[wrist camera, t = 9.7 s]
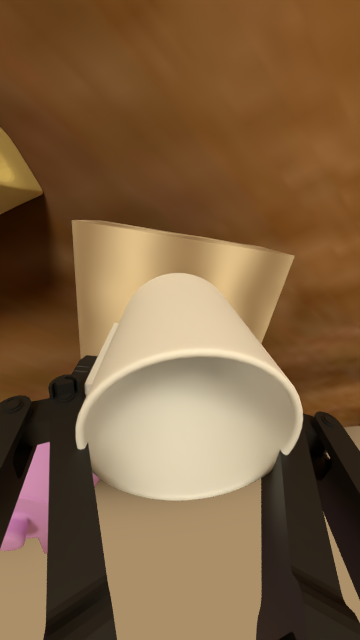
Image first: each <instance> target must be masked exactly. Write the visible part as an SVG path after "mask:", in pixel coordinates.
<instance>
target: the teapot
mask: <svg viewBox="0 0 360 640" xmlns="http://www.w3.org/2000/svg"><path fill="white" fill-rule="evenodd" d="M49 453H50V442H47V443H43V444H39V445H37V448H36V450H35V453H34V456H33V459H32V462H31V464H30V467H29V470H28V473H27V476H26V478H25V481H24V484H23V487H22V489H21V492H20V495H19V498H18V501H17V503H16V506H15V509H14V512H13V515H12V517H11V520H10V523H9V526H8V528H7V531H6V534H5V537H4V540H3V542H2V545H1V548H0V550H4V551H10V550H16V549H19V548H21V547H22V546H23V545H24V542H25V539H26V538H34V537H38V539H39V541H40V544H41V546H42V548H43V551H44V553H48V503H49ZM92 474H93V481H94V488H95V486H96V484H97V483H98V481H99V479H100V478H98V477H97V476H96V475H95V474H94V473H93V472H92Z"/></svg>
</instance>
